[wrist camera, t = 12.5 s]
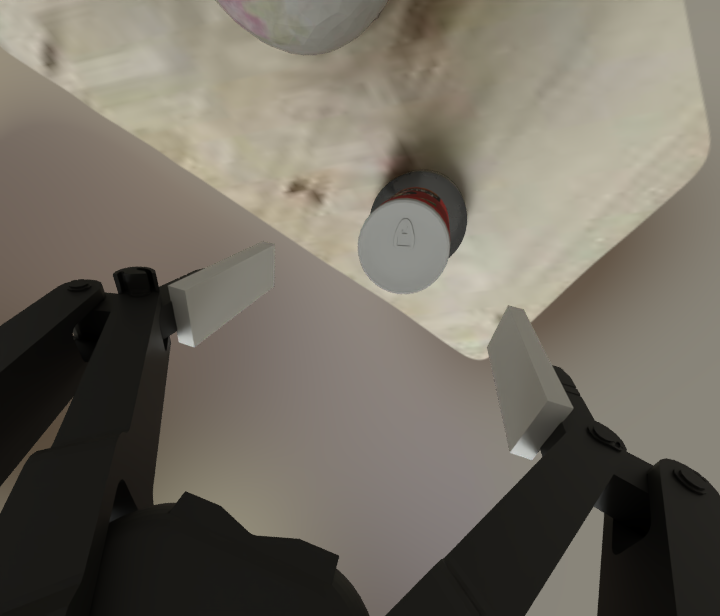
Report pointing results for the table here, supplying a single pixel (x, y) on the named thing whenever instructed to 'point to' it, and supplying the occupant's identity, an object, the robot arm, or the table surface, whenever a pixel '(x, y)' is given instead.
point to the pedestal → (438, 186)
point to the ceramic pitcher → (304, 22)
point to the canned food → (406, 241)
